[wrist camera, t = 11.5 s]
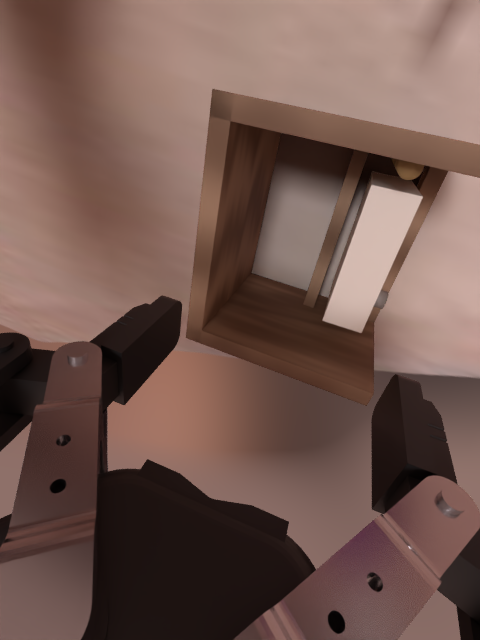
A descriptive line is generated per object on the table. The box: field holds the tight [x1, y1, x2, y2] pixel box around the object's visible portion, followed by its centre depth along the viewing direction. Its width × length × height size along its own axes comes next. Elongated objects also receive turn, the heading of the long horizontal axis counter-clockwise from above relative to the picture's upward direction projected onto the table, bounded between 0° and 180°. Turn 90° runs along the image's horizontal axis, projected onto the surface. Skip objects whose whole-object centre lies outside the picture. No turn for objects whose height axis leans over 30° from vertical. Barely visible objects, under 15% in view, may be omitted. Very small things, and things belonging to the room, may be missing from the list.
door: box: [322, 171, 423, 333], centre depth 25 cm, size 10×4×8 cm, turn 170°
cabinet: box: [186, 89, 480, 406], centre depth 25 cm, size 16×14×12 cm
